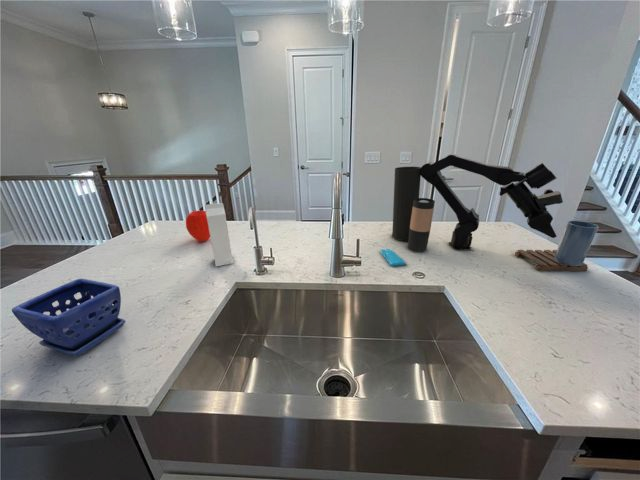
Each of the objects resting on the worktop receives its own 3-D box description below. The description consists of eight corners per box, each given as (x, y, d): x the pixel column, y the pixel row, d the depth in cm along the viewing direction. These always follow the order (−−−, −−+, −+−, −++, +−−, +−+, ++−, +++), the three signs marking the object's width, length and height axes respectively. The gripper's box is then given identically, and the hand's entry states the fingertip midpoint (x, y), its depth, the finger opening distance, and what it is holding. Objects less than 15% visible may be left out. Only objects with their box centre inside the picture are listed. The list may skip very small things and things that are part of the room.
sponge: (394, 249, 103) (380, 248, 102) (406, 263, 92) (391, 262, 91) (393, 252, 103) (379, 251, 102) (405, 266, 92) (390, 266, 91)
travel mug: (404, 245, 108) (410, 198, 101) (421, 244, 109) (429, 197, 101) (411, 252, 101) (418, 203, 94) (430, 252, 102) (439, 202, 94)
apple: (223, 238, 118) (218, 209, 113) (200, 247, 109) (193, 216, 103) (207, 233, 124) (201, 206, 118) (183, 241, 115) (177, 212, 109)
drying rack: (538, 270, 88) (540, 264, 87) (514, 255, 99) (516, 249, 98) (586, 270, 87) (589, 264, 86) (557, 255, 98) (559, 249, 97)
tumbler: (579, 268, 84) (596, 229, 79) (551, 260, 90) (565, 223, 84) (584, 262, 88) (600, 224, 83) (557, 254, 94) (571, 219, 88)
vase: (387, 235, 119) (389, 168, 109) (405, 231, 122) (409, 166, 112) (402, 242, 110) (406, 169, 100) (421, 238, 113) (426, 167, 103)
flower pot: (96, 315, 68) (79, 276, 64) (134, 324, 65) (120, 284, 60) (33, 353, 57) (7, 308, 52) (75, 367, 53) (51, 320, 49)
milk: (233, 263, 95) (224, 205, 86) (215, 266, 93) (204, 207, 84) (231, 256, 100) (222, 200, 91) (214, 259, 98) (204, 202, 89)
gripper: (554, 187, 78) (589, 228, 77) (544, 178, 92) (574, 212, 91) (514, 209, 85) (546, 246, 84) (512, 197, 99) (538, 229, 98)
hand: (552, 232), depth 89 cm, fingers open, 9 cm apart
